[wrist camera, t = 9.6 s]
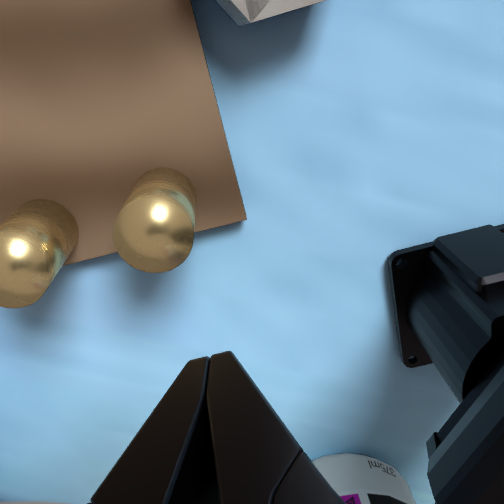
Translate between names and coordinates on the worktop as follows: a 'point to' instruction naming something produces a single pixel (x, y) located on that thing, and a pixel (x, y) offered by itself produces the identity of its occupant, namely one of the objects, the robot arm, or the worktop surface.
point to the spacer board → (108, 111)
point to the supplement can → (364, 479)
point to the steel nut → (260, 8)
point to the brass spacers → (124, 235)
